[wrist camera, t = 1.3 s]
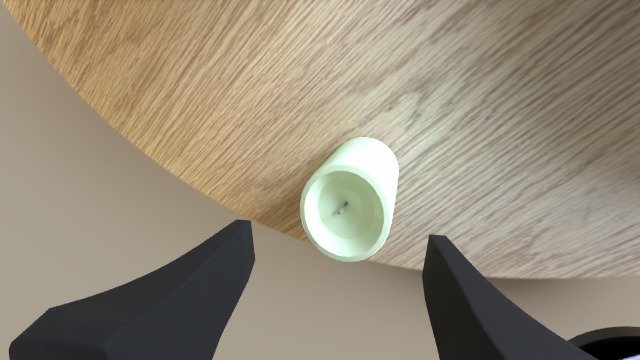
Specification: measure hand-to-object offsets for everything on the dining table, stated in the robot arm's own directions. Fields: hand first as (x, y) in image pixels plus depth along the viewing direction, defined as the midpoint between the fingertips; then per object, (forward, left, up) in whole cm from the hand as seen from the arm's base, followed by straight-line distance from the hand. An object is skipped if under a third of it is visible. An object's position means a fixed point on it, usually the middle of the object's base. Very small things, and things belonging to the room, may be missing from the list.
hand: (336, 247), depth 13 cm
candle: (0, +1, -11) cm, 11 cm away
